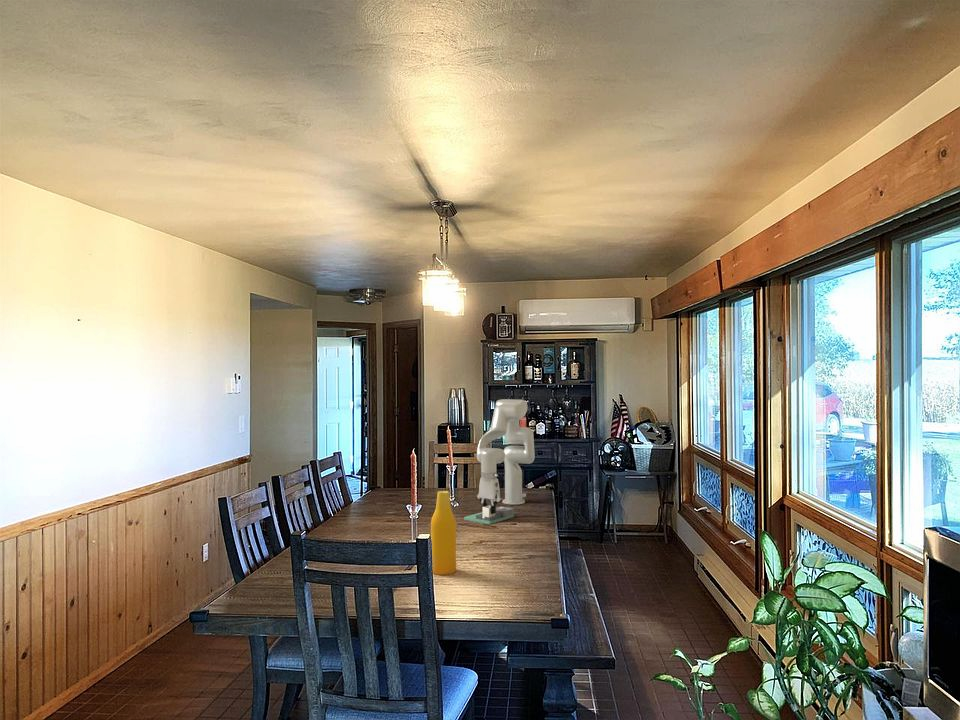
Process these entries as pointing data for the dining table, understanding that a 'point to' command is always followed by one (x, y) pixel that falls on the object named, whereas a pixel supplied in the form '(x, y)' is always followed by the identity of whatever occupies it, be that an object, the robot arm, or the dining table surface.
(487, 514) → the plug
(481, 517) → the header
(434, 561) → the beer bottle
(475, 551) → the dining table surface
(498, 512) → the fan
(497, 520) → the board
